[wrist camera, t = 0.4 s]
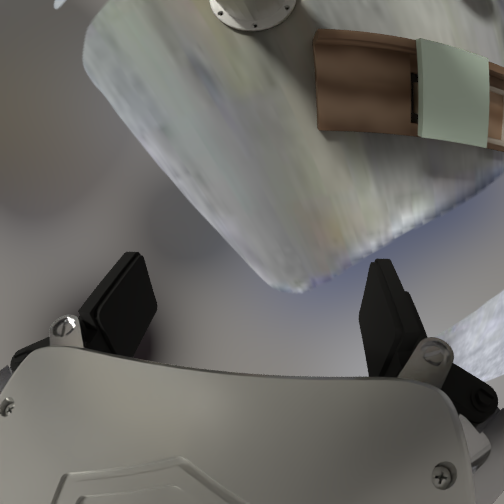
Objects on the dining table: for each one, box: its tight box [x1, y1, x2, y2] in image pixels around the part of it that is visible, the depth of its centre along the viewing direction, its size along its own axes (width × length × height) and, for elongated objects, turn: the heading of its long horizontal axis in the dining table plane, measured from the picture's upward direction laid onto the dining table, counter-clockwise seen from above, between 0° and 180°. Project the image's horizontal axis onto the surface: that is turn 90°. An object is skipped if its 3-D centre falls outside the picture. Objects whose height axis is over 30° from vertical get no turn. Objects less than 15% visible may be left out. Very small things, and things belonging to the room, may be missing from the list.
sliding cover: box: [416, 38, 489, 148], centre depth 26 cm, size 13×11×2 cm
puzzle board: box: [313, 29, 504, 152], centre depth 31 cm, size 14×34×8 cm, turn 95°
